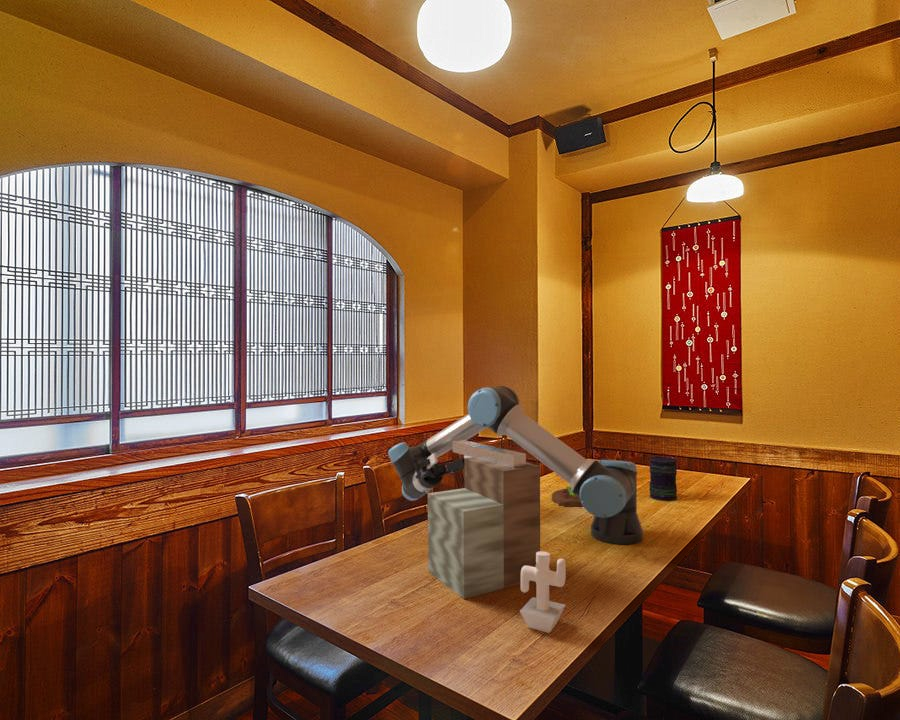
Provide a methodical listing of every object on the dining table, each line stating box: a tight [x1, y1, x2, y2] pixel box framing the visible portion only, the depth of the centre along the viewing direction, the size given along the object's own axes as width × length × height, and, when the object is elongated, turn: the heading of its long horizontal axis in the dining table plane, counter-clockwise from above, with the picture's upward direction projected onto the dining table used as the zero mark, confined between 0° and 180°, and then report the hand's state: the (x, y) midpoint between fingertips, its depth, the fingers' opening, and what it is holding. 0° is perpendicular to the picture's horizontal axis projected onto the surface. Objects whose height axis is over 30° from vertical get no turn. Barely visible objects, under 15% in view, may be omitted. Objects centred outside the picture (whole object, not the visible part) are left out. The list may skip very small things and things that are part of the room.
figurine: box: [519, 550, 567, 634], centre depth 108 cm, size 7×9×15 cm
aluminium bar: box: [452, 440, 527, 468], centre depth 141 cm, size 26×4×3 cm, turn 35°
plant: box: [551, 485, 583, 508], centre depth 200 cm, size 20×20×11 cm
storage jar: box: [649, 456, 678, 502], centre depth 205 cm, size 10×10×15 cm
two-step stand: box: [427, 457, 541, 600], centre depth 133 cm, size 18×22×28 cm
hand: (456, 454), depth 157 cm, fingers open, 13 cm apart
